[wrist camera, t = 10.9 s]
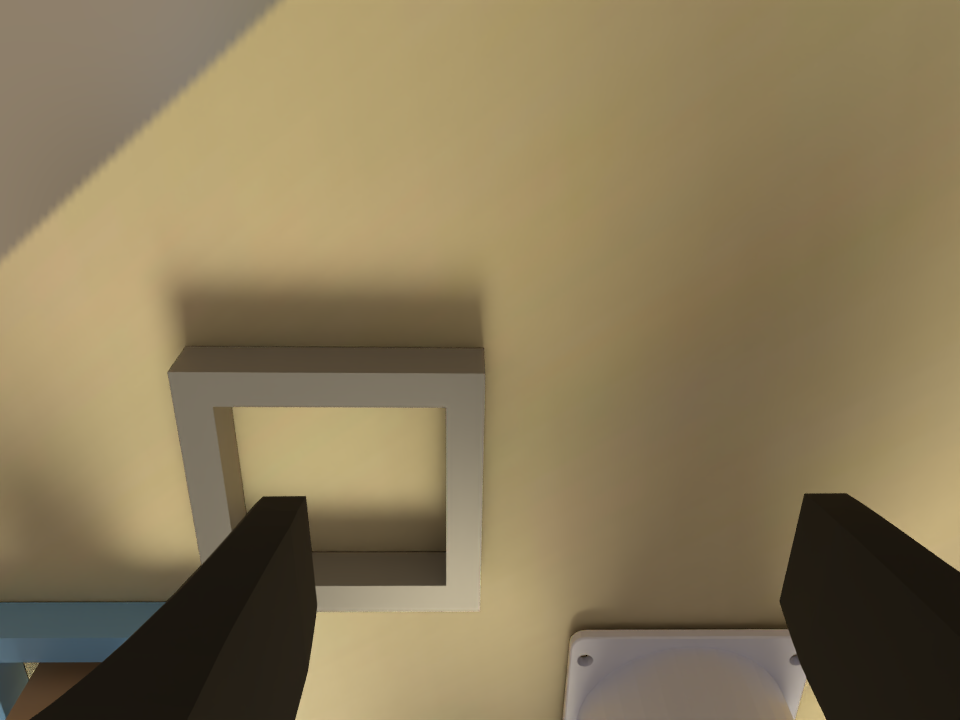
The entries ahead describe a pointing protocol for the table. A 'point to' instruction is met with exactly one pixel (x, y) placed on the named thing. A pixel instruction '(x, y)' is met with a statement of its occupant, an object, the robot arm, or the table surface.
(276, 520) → the robot arm
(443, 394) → the frame
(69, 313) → the table surface
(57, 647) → the blue rim cradle
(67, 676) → the walnut peg
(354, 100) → the table surface
